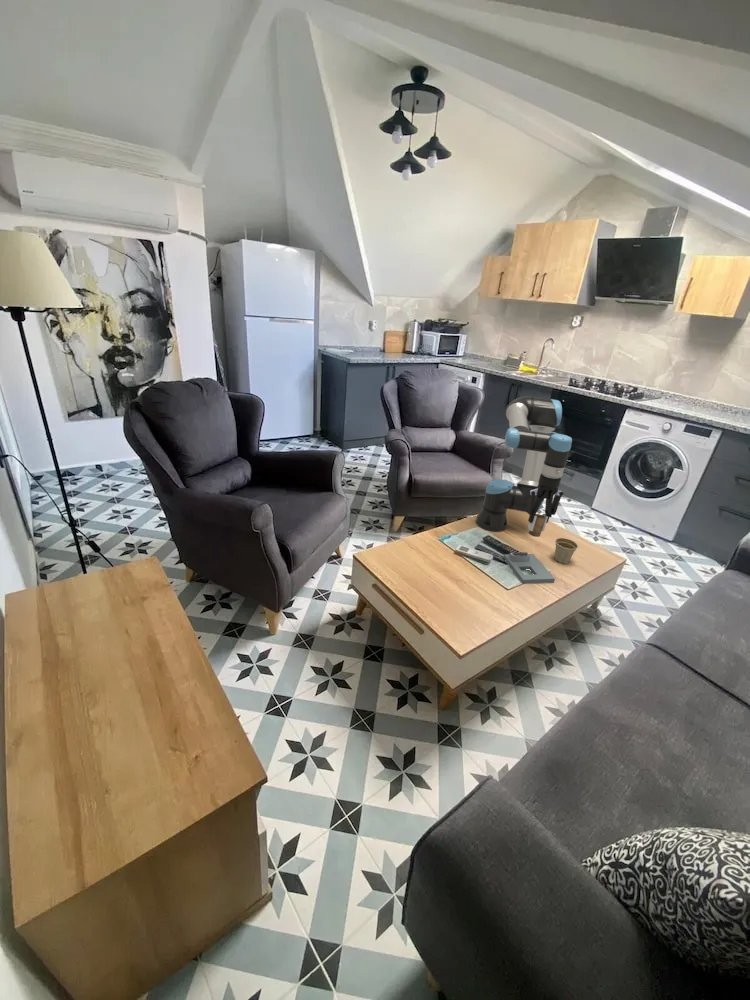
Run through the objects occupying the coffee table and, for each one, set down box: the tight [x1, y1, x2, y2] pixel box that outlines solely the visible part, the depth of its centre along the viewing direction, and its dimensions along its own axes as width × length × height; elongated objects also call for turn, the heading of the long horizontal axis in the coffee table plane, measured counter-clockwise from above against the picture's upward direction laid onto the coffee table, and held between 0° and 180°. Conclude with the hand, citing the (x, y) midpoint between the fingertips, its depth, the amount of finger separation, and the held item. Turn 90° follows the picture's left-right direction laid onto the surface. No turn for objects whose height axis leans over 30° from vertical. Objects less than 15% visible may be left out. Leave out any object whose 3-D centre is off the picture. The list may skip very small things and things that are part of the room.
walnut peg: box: [528, 513, 545, 538], centre depth 166 cm, size 4×4×8 cm
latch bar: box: [509, 551, 530, 562], centre depth 178 cm, size 3×8×3 cm, turn 99°
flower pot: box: [554, 537, 579, 564], centre depth 184 cm, size 9×9×9 cm
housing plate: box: [503, 553, 556, 585], centre depth 175 cm, size 18×14×2 cm
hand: (535, 529), depth 167 cm, fingers closed on walnut peg, 4 cm apart
